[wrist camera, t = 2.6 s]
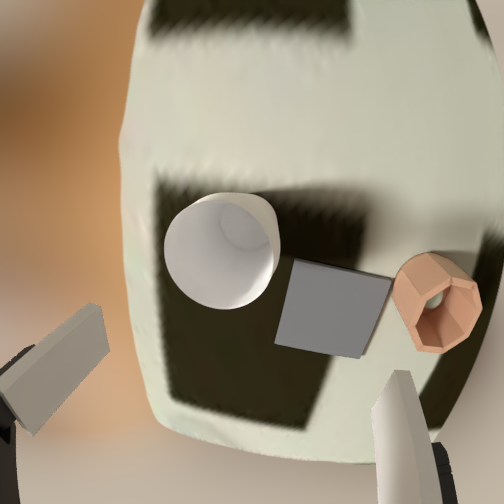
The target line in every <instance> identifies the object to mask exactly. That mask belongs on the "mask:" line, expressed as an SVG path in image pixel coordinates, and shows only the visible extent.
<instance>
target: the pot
mask: <svg viewBox="0 0 504 504" xmlns="http://www.w3.org/2000/svg"><path fill="white" fill-rule="evenodd" d="M441 291H443V298H442V301H441V303H440V304H439V305H438V306H437V307H435V308H432V309H428V308H425V307H424V306H425V304H426V301H427V300H429V299H430V298H432V297H433V296H435V295H436V294H438V293H439V292H441ZM392 298H393V300H394V302H395V305H396V307H397V309H398V311H399V313H400V315H401V317H402V319H403V321H404V323H405V325H406V327H407V329H408V332H409V334H410V336H411V338H412V340H413V342H414V345H415V347H416V349H417V351H422V352H431V353H441V354H442V353H444V352H446V351H447V350H449V349H451V348H452V347H454V346H455V345H457V344H458V343H460V342H461V341H463V340H464V339H466V338H467V337H469V335H470V333H471V331H472V329H473V327H474V325H475V323H476V321H477V319H478V317H479V315H480V313H481V310H482V304H481V300H480V295H479V291H478V287H477V283H476V282H475V281H474V280H473V279H472V278H470V277H469V276H468V275H467V274H466V273H465V272H464V271H463V270H461V269H460V268H459V267H458V266H457V265H456V264H455V263H453V262H452V261H451V260H450V259H447V258H444V257H442V256H440V255H438V254H436V253H429V252H427V253H421V254H418V255H416V256H414V257H412V258H411V259H409V260H408V261H407V262H406V263H405V264H404V265H403V266H402V267H401V268H400V270H399V271H398V273H397V275H396V277H395V279H394V283H393V288H392Z"/></svg>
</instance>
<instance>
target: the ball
mask: <svg viewBox="0 0 504 504" xmlns="http://www.w3.org/2000/svg"><path fill="white" fill-rule="evenodd" d="M442 298H443V291H441V292H439V293H438V294H436V295H435V296H433V297H432V298H430V299H429V300H427V301H426V304H425V306H424V307H425V308H428V309H432V308H435V307H437V306H438V305H439V304H440V303H441V301H442Z"/></svg>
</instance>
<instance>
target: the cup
mask: <svg viewBox="0 0 504 504" xmlns="http://www.w3.org/2000/svg"><path fill="white" fill-rule="evenodd" d="M164 255H165V261H166V265H167V268H168V270H169V273H170V275H171V277H172V278H173V280H174V282H175V283H176V284H177V286H178V287H179V288H180V289H181V290H182V291H183V292H184V293H185V294H186V295H187V296H189V297H190V298H191V299H193V300H194V301H196V302H198V303H200V304H202V305H205V306H208V307H212V308H217V309H233V308H238V307H241V306H244V305H246V304H248V303H250V302H252V301H253V300H255V299H256V298H257V297H258V296H259V295H260V294H261V293H262V292H263V291H264V290H265V288H266V287H267V285H268V283H269V281H270V279H271V276H272V275H273V273H274V271H275V269H276V267H277V264H278V261H279V256H280V237H279V230H278V223H277V217H276V214H275V211H274V209H273V208H272V206H271V205H270V204H269V203H268V202H267V201H266V200H265V199H263V198H261V197H259V196H257V195H253V194H243V193H217V194H212V195H208V196H206V197H203V198H201V199H200V200H198V201H196V202H195V203H193V204H192V205H190V206H189V207H187V208H185V209H184V210H183V211H181V212H180V213H179V214H178V215H177V216H176V217H175V218H174V220H173V221H172V223H171V224H170V226H169V228H168V231H167V234H166V237H165V244H164Z"/></svg>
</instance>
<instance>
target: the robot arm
mask: <svg viewBox="0 0 504 504" xmlns="http://www.w3.org/2000/svg"><path fill="white" fill-rule="evenodd" d="M109 352H110V349H109V344H108V340H107V335H106V330H105V326H104V320H103V315H102V310H101V306H98V305H95V304H93V303H90V302H89V303H88V304H87V305H85V306H84V307H83V308H81V309H80V310H79V311H78V312H76V313H75V314H74V315H73V316H71V317H70V318H69V319H68V320H66V321H65V322H64V323H63V324H61V325H60V326H59V327H57V328H56V329H55V330H54V331H53V332H51V333H50V334H49V335H48V336H46V337H45V338H44V339H43V340H42V341H40V342H39V343H38V344H37V345H35V344H33V345H31V346H29V347H26V348H24V349H23V350H22V351H21V352H20V353H18V354H17V356H15V357H14V358H13V359H11V361H9V362H8V363H7V364H6V365H4V366H3V367H2V368H1V369H0V504H20V498H19V490H18V480H17V468H16V425H15V423H14V421H15V420H16V419H17V421H18V422H19V424H20V425H21V426H22V427H23V428H24V429H25V430H26V431H27V432H28V433H29V434H31V435H32V436H34V435H35V434H36V433H37V432H38V431H39V430H40V428H41V427H42V426H43V425H44V424H45V423H46V421H47V420H48V419H49V418H50V417H51V416H52V415H53V413H54V412H55V411H56V410H57V409H58V408H59V407H60V405H61V404H62V403H63V402H64V401H65V400H66V399H67V397H68V396H69V395H70V394H71V393H72V392H73V391H74V390H75V388H76V387H77V386H78V385H79V384H80V383H81V382H82V381H83V380H84V379H85V377H86V376H87V375H88V374H89V373H90V372H91V371H92V370H93V369H94V368H95V367H96V366H97V364H98V363H99V362H100V361H101V360H102V359H103V358H104V357H105V356H106V355H107V354H108V353H109ZM371 419H372V427H373V436H374V446H375V457H376V469H377V486H378V504H458V501H457V495H456V490H455V485H454V480H453V475H452V474H451V472H452V471H451V466H450V465H449V463H450V462H449V458H448V454H447V451H446V450H445V448H444V447H443V445H442V444H441V442H436V443H431V441H430V437H429V433H428V429H427V425H426V422H425V418H424V415H423V411H422V408H421V404H420V401H419V398H418V394H417V391H416V388H415V385H414V382H413V379H412V376H411V373H410V371H404V370H394V372H393V374H392V375H391V377H390V379H389V381H388V383H387V384H386V386H385V388H384V390H383V391H382V393H381V395H380V396H379V398H378V400H377V401H376V403H375V405H374V406H373V408H372V409H371Z"/></svg>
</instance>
